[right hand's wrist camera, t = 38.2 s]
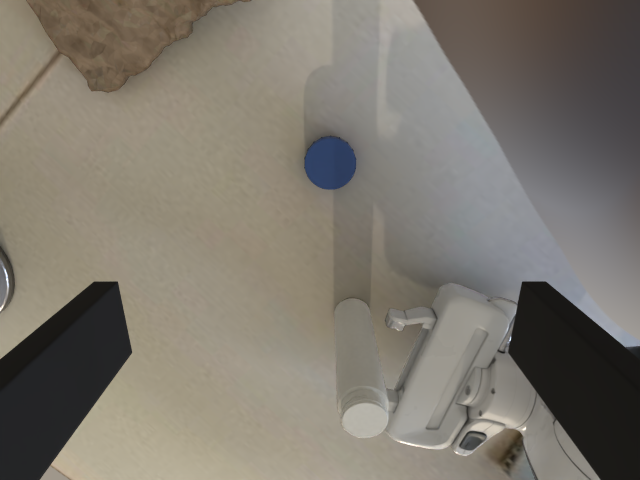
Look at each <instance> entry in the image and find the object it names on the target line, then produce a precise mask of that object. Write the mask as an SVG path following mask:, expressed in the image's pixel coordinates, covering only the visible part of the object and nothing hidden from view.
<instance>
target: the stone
mask: <svg viewBox="0 0 640 480" xmlns="http://www.w3.org/2000/svg"><path fill="white" fill-rule="evenodd" d="M26 1H27V2H28V4H29V5H30V6H31V8H32V9H33V11H34V12H35V14H36V15H37V16H38V18H39V20H40V22H41V24H42V26H43V28H44V29H45V31H46V33H47V34H48V36H49V37H50V39H51V40H52V41H53V43H54V44H55V46H56V47H57V49H58V51H59V52H60V53H62V54H63V55H65V56H67V57H69V58H70V60H71V61H72V62H73V63H74V65H75V66H76V67H77V69H78V70H79V71H80V72H81V73H82V74H83V76H84V77H85V78H86V80H87V82H88V86H89V88H90V90H91V91H104V92H112V91H116V90H118V89H119V88H120V87H121V86H122V85H124V84H125V82H126V81H127V79H128V77H129V76H130V75H137V74H139V73H141V72H143V71H144V70H146V69H147V68H148V67H149V66H150V65H151V63H152V61H153V60H154V59H156V58H157V57H158V56H159V55H160V54H161V53H162V51H163V49H164V48H165V47H166V46H169V45H170V44H171V43H172V42H174V41H177V40H180V39H182V38H187V37H188V36H189V35H190V34H191V33H192V32H193V27H192V23H193V21H196V20H199V19H200V18H201V17H202V16H205V15H206V14H207V12H208V11H209V10H210V9H211V8H212V7H217V6H219V5H225V6H227V5H232V4H234V3H235V2H237V1H242V2H250V1H251V0H26Z"/></svg>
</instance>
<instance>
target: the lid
mask: <svg viewBox="0 0 640 480" xmlns="http://www.w3.org/2000/svg"><path fill="white" fill-rule="evenodd" d="M307 151H308V152H307V154H306V157H305V167H304V168H305V170H306V174H307V176H308V177H309V179H310V180H311V181H312V182H313V183H314V184H315V185H316V186H318V187H320V188H323V189H329V190H332V189H337V188H340V187H342V186H344V185H345V184H347V183H348V182H349V181H350V180H351V178H352V177H353V175H354V172H355V169H356V158H355V155H354V153H353V149H351V147H350V146H349V145H348V142H345V141H344V140H342V139H340V137H339V138H338V137H333V136H328V137H323V138H322V137H321V138H320V139H318V140H317V141H315V142H313V144H312V145H311V146H310V148H308V150H307Z"/></svg>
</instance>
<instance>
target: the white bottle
mask: <svg viewBox="0 0 640 480" xmlns="http://www.w3.org/2000/svg"><path fill="white" fill-rule="evenodd" d="M334 331H335V357H336V383H337V408H338V412H339V414H340V416H341V425H342V427H343V429H344V430H345V431H346V432H348V433H349V434H351V435H353V436H355V437H359V438H369V437H373V436H376V435H378V434H380V433H381V432H382V431H383V430H384V429H385V427H386V425H387V422H388V409H389V401H388V397H387V392H386V387H385V382H384V377H383V372H382V367H381V362H380V358H379V353H378V348H377V343H376V338H375V333H374V328H373V324H372V319H371V314H370V309H369V307H368V305H367V304H366V303H365V302H363V301H362V300H359V299H356V298H349V299H345V300H343V301H341V302H340V303H339V304H338V305H337V306H336V308H335V310H334Z"/></svg>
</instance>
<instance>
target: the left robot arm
mask: <svg viewBox="0 0 640 480" xmlns="http://www.w3.org/2000/svg"><path fill="white" fill-rule="evenodd" d="M517 305H518V304H517V303H515V302H514V301H512V300H508V299H505V298H501V297H492V298H489V297H487V296H485V295H483V294H481V293H479V292H477V291H474V290H472V289H470V288H467V287H464V286H462V285H459V284H456V283H449V284H445V285H443V286H441V287H440V288H439V290H438V293H437V295H436V297H435V299H434V302H433V304H432V306H431V308H426V307H422V306H421V307H417V308H413V309H409V310H405V311H400V310H396V309H393V308H390V309H389V311H388V313H387V316H386V319H385V322H386V325H387V327H389V328H392V329H393V328H395V329H396V330H399V331H403V329H404V326H405V325H411V324H417V323H421V325H422V328H421V330H420V333H419V335H418V337H417V339H416V342H415V344H414V346H413V348H412V350H411V353H410V355H409V357H408V359H407V362H406V364H405V366H404V368H403V371H402V373H401V375H400V377H399V379H398V382H397V384H396V386H395V388H394V390H391V389H386V392H387V397H388V401H389V409H388V422H387V425H386V432H387V433H388V435H389V436H390V437H391V438H392V439H393V440H395V441H397V442H400V443H404V444H408V445H412V446H417V447H422V448H427V449H443V448H446V447H448V446H450V445H451V447H452V449H453V451H454V453H456V454H458V455H462V456H467V455H470V454H471V453H473V452H474V451H475V450H476V449H477V448H478V447H479V446H480V445H482V444H483V443H484V442H485V441H487V440H488V439H489V438H491V437H492V436H494V435H495V434H497V433H499V432H501V431H502V430H503V429H504V428H509V429H516V430H518V431H520V432H521V434H522V435H523V440H522V441H523V446H524V450H525V453H526V456H527V459H528V462H529V465H530V467H531V470H532V473H533V475H534V478H535V480H600V479H599V477H598V476H597V474H596V473H595V472H594V470H593V469H592V468H591V466H590V465H589V463H588V462H587V461H586V459H585V458H584V457H583V455H582V454H581V452H580V451H579V450H578V448H577V447H576V446H575V444H574V443H573V441H572V440H571V439H570V437H569V436H568V435H567V433H566V432H565V430H564V429H563V428H562V426H561V425H560V424H559V422H558V421H557V419H556V418H555V417H554V415H553V414H552V413H551V411H550V410H549V408H548V407H547V406H546V404H545V403H544V402H543V400H542V399H541V397H540V396H539V395H538V393H537V392H536V391H535V389H534V388H533V386H532V385H531V384H530V382H529V381H528V380H527V378H526V377H525V375H524V374H523V373H522V371H521V370H520V369H519V367H518V366H517V364H516V363H515V362H514V360H513V359H512V358H511V356H510V355H509V353H508V349H509V347H508V345H509V343H510V339H511V335H512V330H513V325H514V320H515V315H516V310H517ZM625 348H627V349H628V350H629V351H630V352H631V353H633V354H634V355H635V356H636V357H637V358H639V359H640V346H636V347H625Z"/></svg>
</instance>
